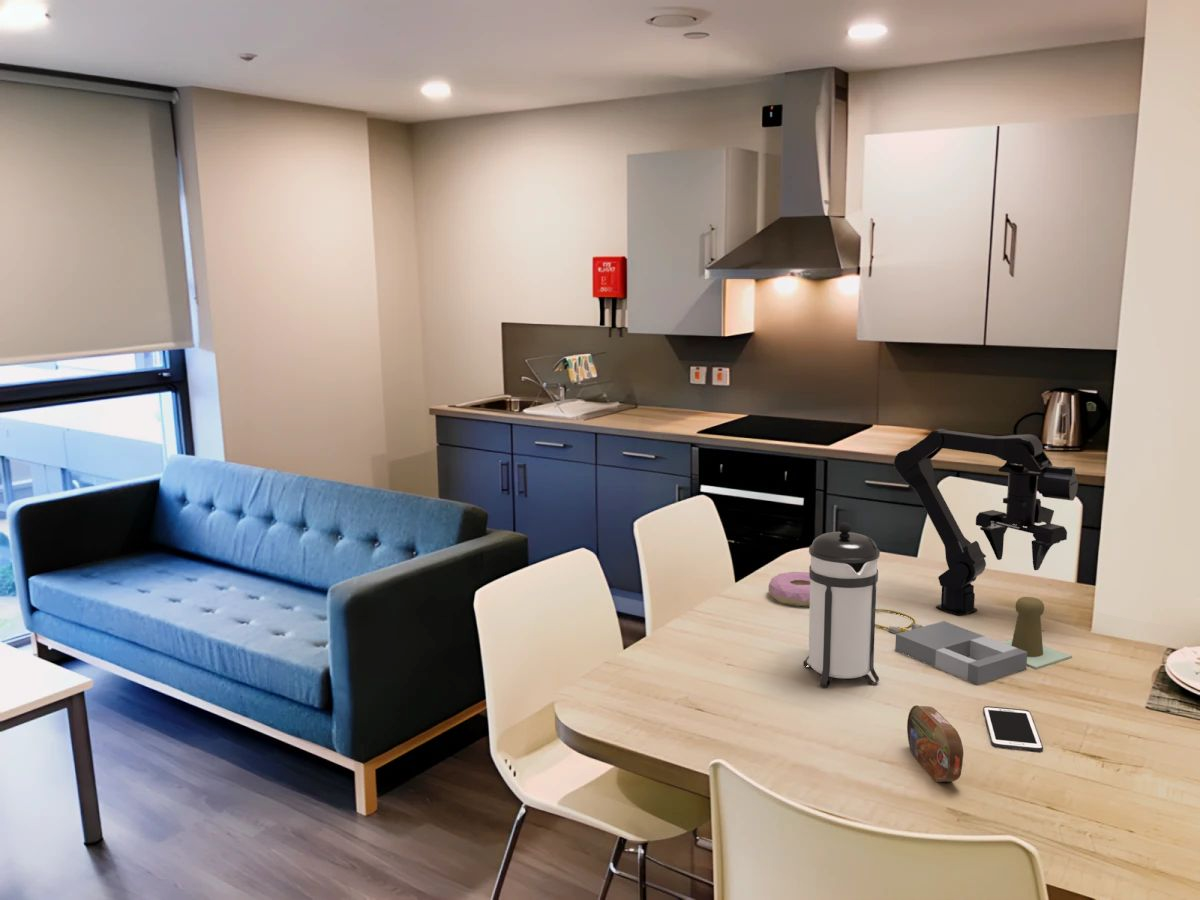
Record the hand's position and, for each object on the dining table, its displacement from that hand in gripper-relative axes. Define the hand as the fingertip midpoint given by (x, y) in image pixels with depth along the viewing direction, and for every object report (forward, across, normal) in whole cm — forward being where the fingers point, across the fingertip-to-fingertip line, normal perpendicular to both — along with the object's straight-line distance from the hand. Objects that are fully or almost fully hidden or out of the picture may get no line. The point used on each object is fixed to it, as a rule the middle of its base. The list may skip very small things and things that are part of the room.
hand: (1017, 564), depth 210 cm
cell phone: (+14, -33, +44) cm, 57 cm away
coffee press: (+13, 0, +52) cm, 54 cm away
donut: (+13, +37, +28) cm, 48 cm away
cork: (+13, -13, +13) cm, 22 cm away
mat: (+13, -13, +13) cm, 23 cm away
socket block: (+13, -8, +27) cm, 31 cm away
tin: (+13, -35, +65) cm, 75 cm away
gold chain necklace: (+14, +13, +23) cm, 30 cm away
